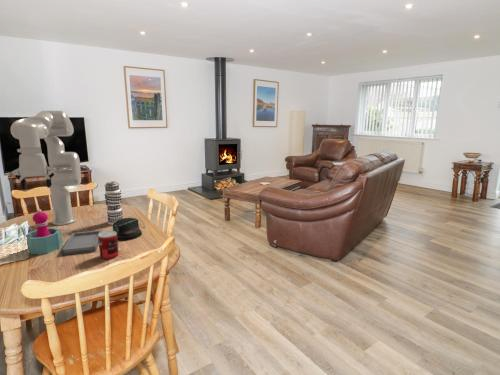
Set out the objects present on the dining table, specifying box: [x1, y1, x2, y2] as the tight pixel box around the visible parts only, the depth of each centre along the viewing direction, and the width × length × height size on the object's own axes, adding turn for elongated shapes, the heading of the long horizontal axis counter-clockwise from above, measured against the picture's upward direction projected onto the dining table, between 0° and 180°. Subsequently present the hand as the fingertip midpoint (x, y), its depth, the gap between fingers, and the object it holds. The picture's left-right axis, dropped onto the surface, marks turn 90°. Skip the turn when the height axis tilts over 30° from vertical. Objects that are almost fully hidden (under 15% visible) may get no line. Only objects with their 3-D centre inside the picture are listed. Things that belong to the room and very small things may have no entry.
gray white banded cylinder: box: [104, 181, 124, 226], centre depth 182 cm, size 9×9×25 cm
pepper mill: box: [32, 208, 51, 238], centre depth 147 cm, size 7×7×20 cm
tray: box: [61, 229, 103, 256], centre depth 154 cm, size 22×14×3 cm, turn 18°
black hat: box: [112, 217, 143, 242], centre depth 164 cm, size 20×20×9 cm
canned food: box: [98, 230, 120, 260], centre depth 140 cm, size 8×8×11 cm
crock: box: [25, 227, 63, 256], centre depth 148 cm, size 14×14×8 cm
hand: (37, 187), depth 142 cm, fingers open, 9 cm apart
